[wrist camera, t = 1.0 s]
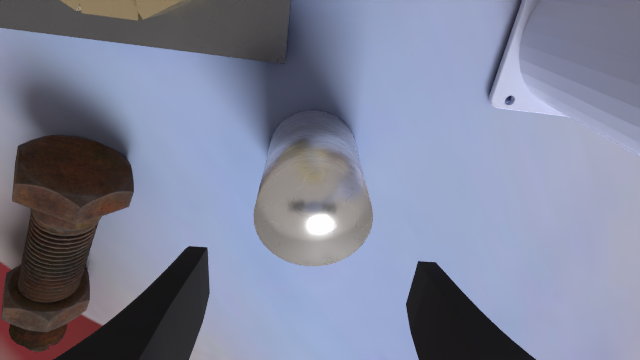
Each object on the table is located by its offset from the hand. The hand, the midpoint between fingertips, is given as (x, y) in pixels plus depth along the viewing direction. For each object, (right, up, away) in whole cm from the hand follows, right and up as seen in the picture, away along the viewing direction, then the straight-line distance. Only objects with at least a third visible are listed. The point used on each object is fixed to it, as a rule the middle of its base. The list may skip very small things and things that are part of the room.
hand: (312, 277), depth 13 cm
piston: (0, +5, +9) cm, 10 cm away
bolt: (-16, 0, +12) cm, 20 cm away
